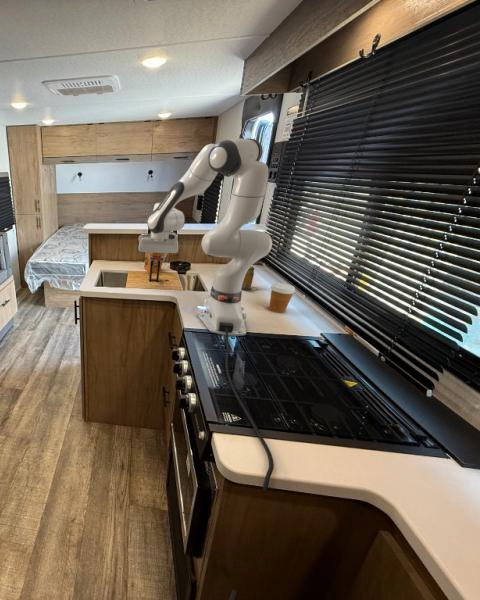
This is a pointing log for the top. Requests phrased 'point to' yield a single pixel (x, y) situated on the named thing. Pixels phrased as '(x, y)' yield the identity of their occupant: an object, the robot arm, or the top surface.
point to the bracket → (157, 270)
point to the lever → (156, 260)
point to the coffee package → (153, 254)
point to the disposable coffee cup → (280, 296)
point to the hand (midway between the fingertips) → (156, 260)
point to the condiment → (248, 280)
